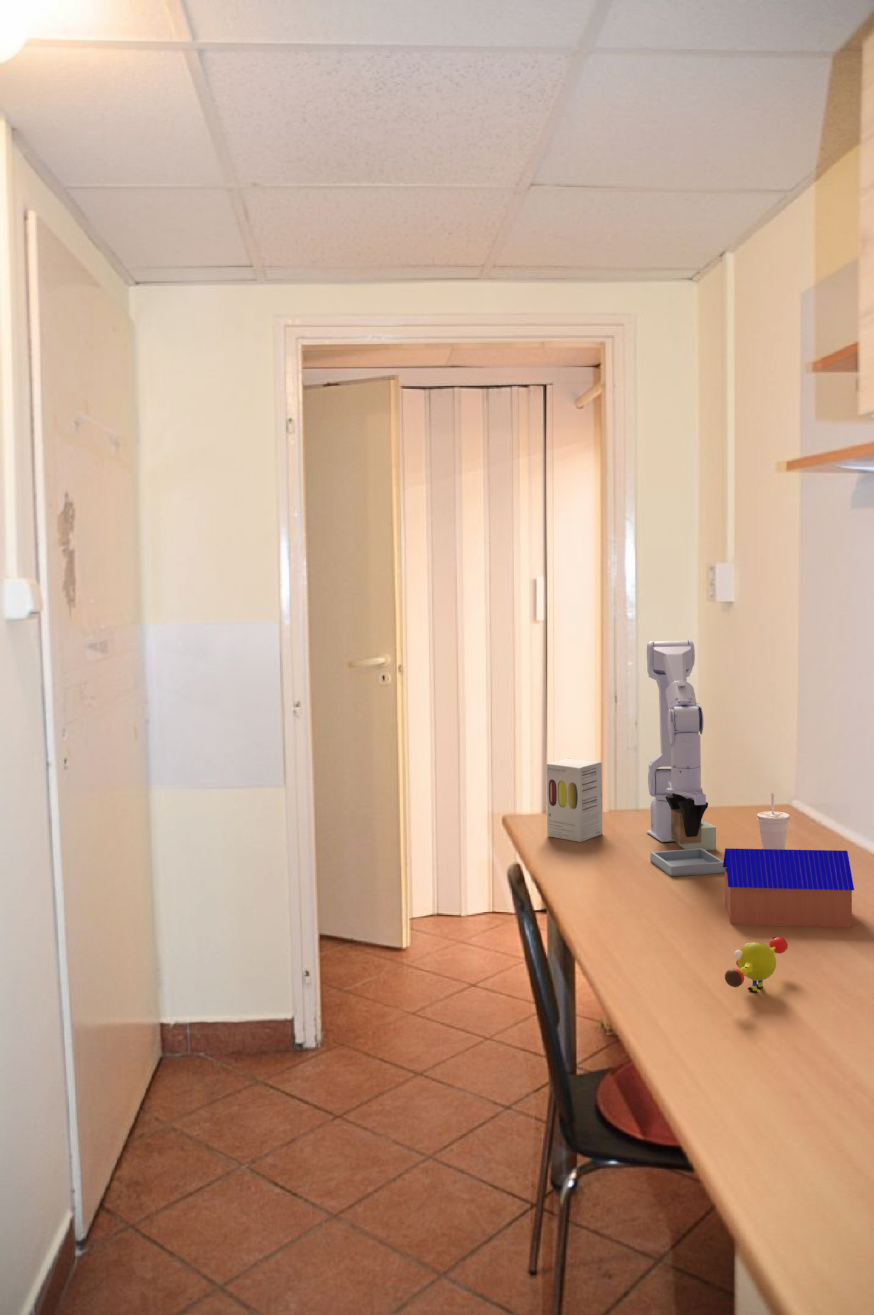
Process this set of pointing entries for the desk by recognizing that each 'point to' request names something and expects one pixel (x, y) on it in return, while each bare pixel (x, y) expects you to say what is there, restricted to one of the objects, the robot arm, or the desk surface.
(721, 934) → the desk surface
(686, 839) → the block
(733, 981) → the toy figure
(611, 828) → the desk surface
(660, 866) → the tray
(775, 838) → the smoothie
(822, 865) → the house
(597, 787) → the supplement box
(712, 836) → the oversize block
